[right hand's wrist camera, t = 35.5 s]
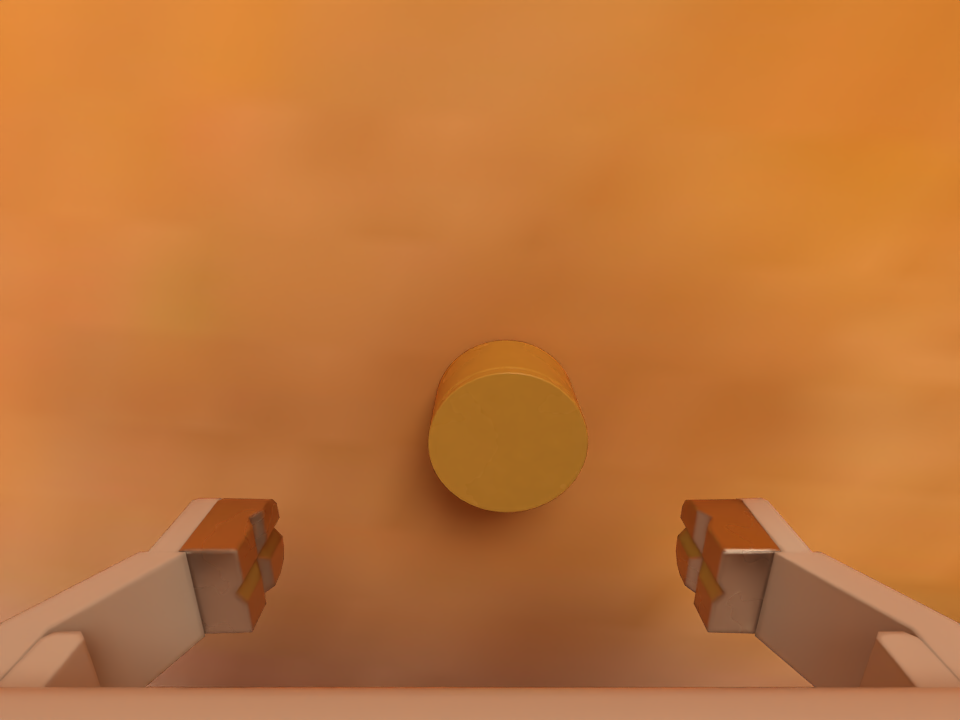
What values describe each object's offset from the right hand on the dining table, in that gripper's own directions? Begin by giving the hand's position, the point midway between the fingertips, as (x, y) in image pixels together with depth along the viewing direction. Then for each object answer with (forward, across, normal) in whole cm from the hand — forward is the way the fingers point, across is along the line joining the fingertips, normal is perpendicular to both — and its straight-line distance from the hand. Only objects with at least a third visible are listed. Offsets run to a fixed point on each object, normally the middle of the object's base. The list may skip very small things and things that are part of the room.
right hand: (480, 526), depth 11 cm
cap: (+2, +1, 0) cm, 3 cm away
